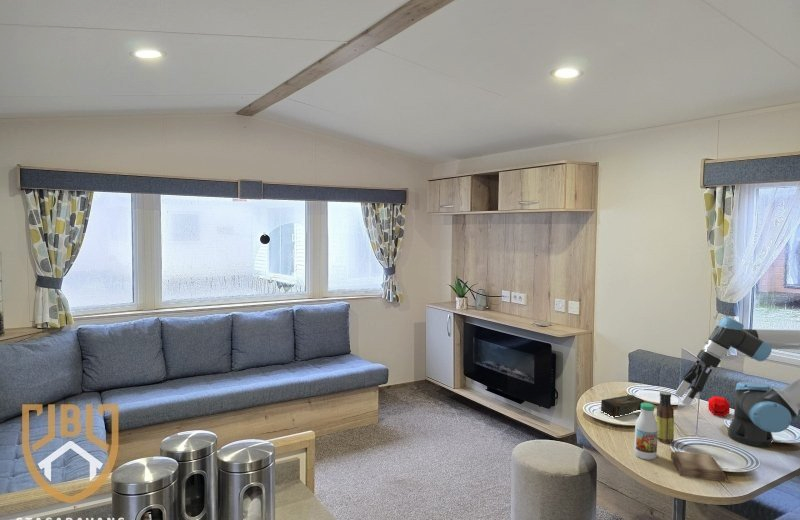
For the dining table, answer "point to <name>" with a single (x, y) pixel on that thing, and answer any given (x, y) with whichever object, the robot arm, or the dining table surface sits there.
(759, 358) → the robot arm
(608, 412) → the dark brown block
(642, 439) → the milk bottle
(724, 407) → the ball
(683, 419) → the dining table surface
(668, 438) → the sauce bottle
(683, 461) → the podium
